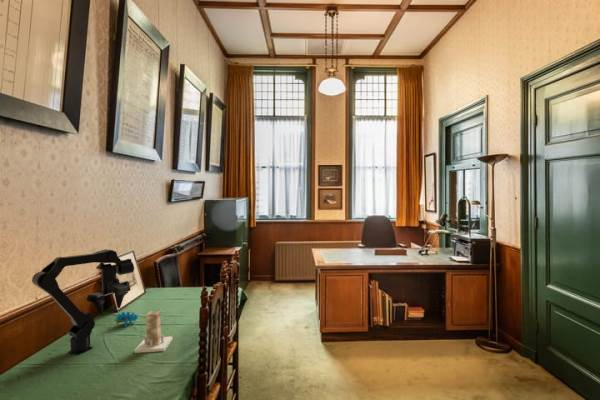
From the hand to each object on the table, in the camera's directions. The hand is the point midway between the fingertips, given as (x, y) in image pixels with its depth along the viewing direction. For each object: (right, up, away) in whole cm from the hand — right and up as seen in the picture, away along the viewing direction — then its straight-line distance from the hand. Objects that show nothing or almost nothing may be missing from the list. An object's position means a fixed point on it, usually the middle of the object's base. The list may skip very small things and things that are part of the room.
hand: (110, 311), depth 155 cm
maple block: (+23, -11, -7) cm, 27 cm away
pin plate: (+23, -12, -8) cm, 27 cm away
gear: (-2, -13, +19) cm, 23 cm away
